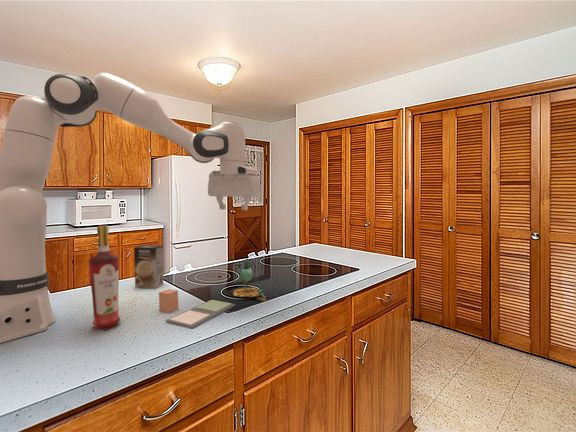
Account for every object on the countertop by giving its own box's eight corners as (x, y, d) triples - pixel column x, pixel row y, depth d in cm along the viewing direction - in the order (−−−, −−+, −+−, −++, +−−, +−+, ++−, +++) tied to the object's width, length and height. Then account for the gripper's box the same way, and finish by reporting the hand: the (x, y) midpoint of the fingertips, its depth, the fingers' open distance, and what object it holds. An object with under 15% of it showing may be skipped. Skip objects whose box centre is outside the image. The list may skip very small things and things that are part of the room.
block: (168, 312, 102) (168, 293, 102) (159, 310, 104) (158, 292, 103) (178, 308, 106) (177, 290, 105) (169, 306, 107) (168, 288, 107)
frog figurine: (247, 305, 109) (244, 261, 109) (225, 297, 124) (222, 258, 124) (272, 299, 114) (269, 257, 114) (248, 292, 129) (245, 255, 129)
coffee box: (134, 288, 128) (132, 247, 127) (142, 283, 135) (141, 244, 133) (156, 288, 127) (155, 247, 126) (164, 284, 134) (163, 245, 132)
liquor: (117, 318, 97) (113, 224, 95) (124, 326, 92) (121, 226, 90) (89, 325, 92) (84, 226, 90) (94, 333, 87) (90, 228, 85)
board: (192, 328, 90) (192, 325, 90) (165, 322, 94) (165, 319, 94) (235, 306, 108) (235, 303, 108) (210, 301, 112) (210, 299, 112)
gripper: (203, 170, 116) (204, 209, 117) (252, 168, 107) (252, 210, 108) (214, 171, 122) (215, 208, 123) (262, 169, 113) (262, 210, 114)
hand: (233, 209), depth 116 cm, fingers open, 8 cm apart
